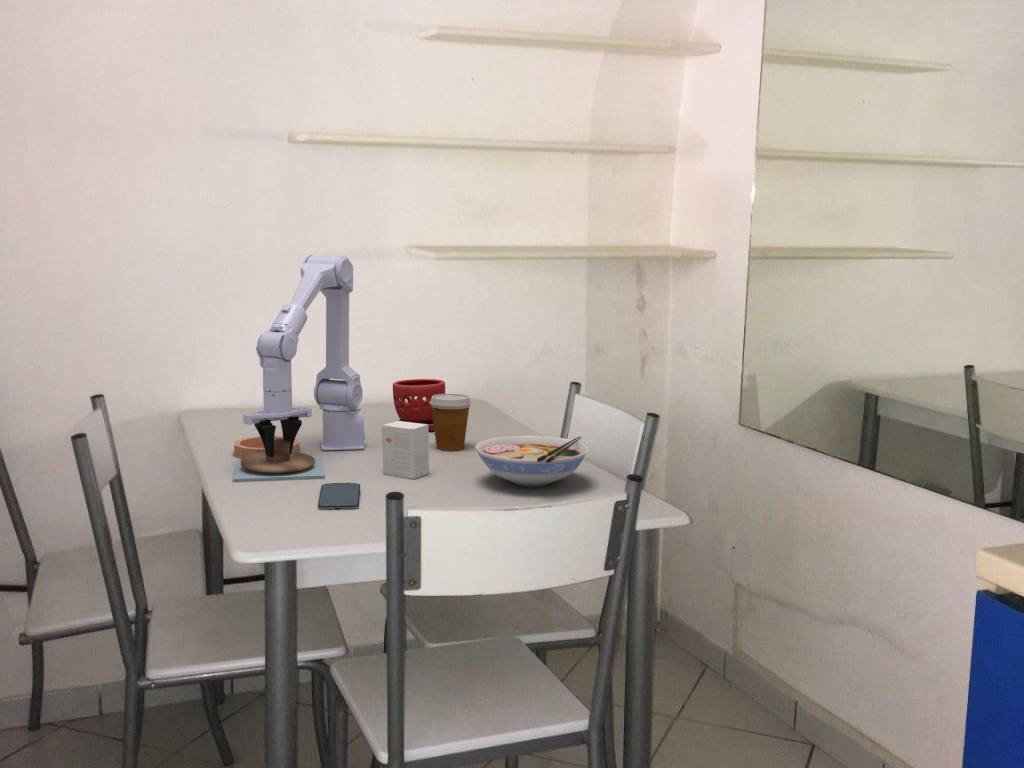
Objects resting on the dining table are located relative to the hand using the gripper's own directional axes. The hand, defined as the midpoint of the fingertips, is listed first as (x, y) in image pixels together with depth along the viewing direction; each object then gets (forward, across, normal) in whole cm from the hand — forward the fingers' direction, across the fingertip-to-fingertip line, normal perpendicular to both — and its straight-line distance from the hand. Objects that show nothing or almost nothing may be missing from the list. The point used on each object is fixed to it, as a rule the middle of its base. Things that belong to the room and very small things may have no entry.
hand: (278, 454), depth 220 cm
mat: (+3, 0, 0) cm, 3 cm away
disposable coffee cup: (+4, -42, +3) cm, 42 cm away
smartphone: (+4, +1, +26) cm, 27 cm away
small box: (+4, -20, +18) cm, 27 cm away
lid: (+2, 0, 0) cm, 2 cm away
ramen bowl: (+4, -36, +39) cm, 53 cm away
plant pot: (+4, -49, -20) cm, 53 cm away
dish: (+3, -6, -16) cm, 18 cm away
